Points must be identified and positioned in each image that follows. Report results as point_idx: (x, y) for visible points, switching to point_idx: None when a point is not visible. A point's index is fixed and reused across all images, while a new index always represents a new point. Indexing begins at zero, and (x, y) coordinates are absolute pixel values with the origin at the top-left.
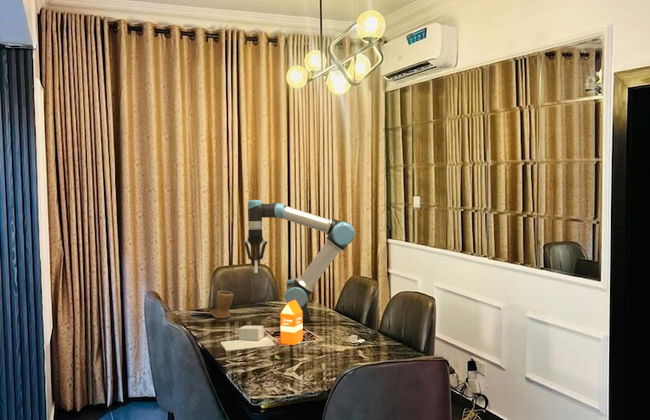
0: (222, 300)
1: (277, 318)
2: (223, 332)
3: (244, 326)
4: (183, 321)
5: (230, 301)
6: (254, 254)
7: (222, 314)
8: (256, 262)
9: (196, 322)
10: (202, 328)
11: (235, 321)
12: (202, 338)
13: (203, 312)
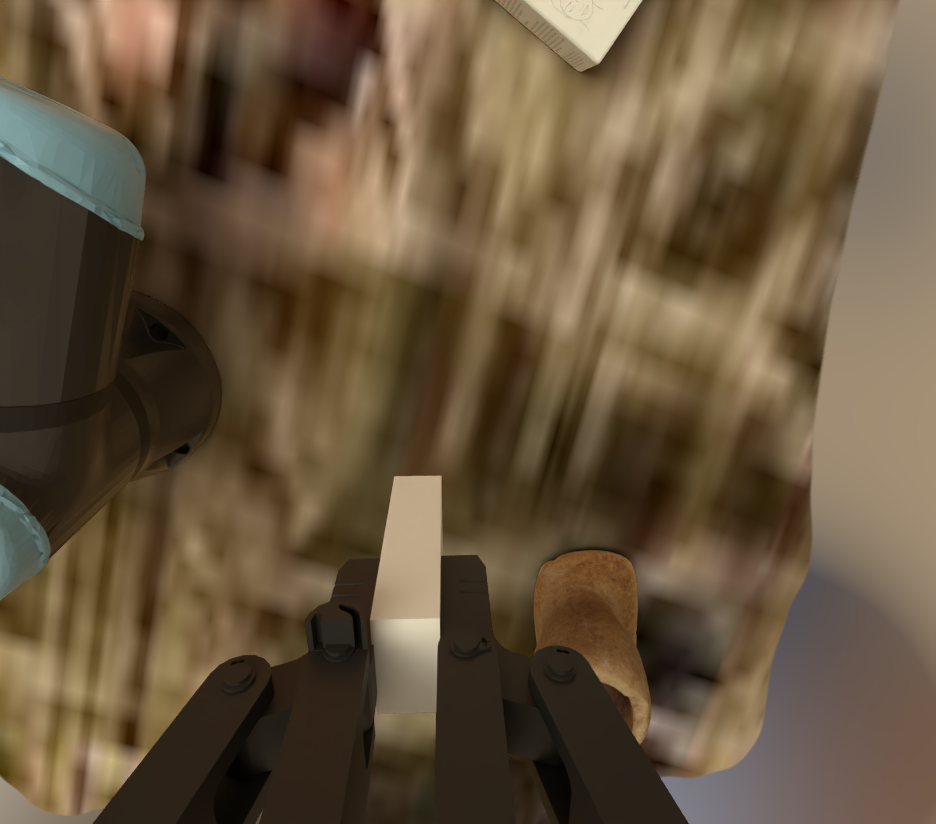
0: (618, 637)
1: (258, 463)
2: (679, 242)
3: (609, 17)
4: (802, 576)
5: (555, 634)
6: (446, 774)
7: (593, 575)
8: (401, 589)
9: (746, 533)
10: (763, 391)
11: (530, 481)
12: (853, 139)
13: None
